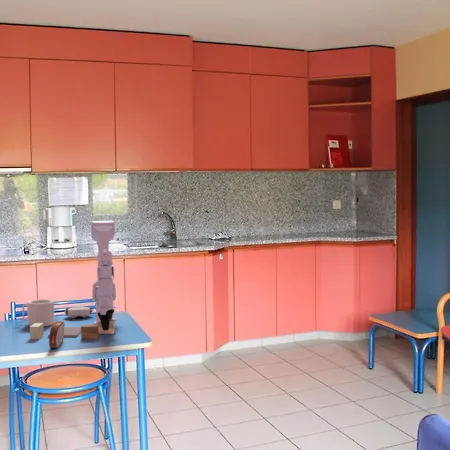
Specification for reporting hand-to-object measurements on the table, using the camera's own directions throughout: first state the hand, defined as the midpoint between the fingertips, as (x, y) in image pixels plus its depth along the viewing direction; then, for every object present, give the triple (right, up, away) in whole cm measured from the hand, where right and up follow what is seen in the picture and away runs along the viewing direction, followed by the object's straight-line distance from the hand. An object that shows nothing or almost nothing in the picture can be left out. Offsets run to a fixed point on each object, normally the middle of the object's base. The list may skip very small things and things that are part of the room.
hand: (106, 328), depth 233 cm
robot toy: (-19, 0, +31) cm, 37 cm away
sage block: (-26, -2, -7) cm, 27 cm away
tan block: (0, -2, 0) cm, 2 cm away
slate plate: (-16, -2, 0) cm, 16 cm away
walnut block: (-5, -2, -8) cm, 10 cm away
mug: (-33, -1, +15) cm, 36 cm away
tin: (-14, -3, -18) cm, 24 cm away
